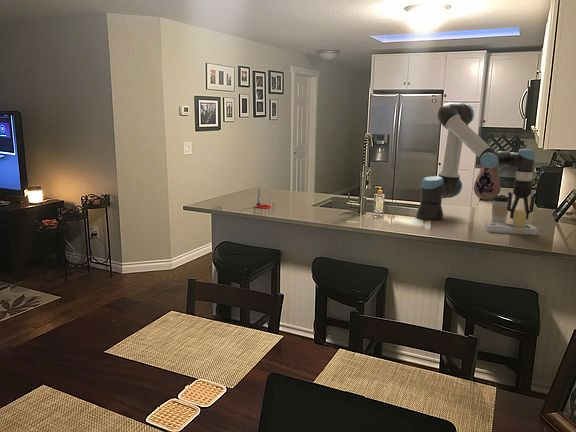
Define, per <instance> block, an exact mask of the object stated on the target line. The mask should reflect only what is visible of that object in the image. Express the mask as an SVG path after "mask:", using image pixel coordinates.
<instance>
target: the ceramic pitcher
mask: <svg viewBox="0 0 576 432" xmlns="http://www.w3.org/2000/svg"><path fill="white" fill-rule="evenodd" d="M479 165H480V169H479V171H478V174H477V176H476V179H475V180H474V184H473V192H474V194H475V196H476V197H477V198H478V199H479V200H486V201H491V200H492V199H493V198H494V197H495V196H499V195H500V192H501V181H500V176H499V172H498V168H499V167H494V168H485V167H483V166H482V165H481V162H480V163H479ZM492 201H493V200H492Z"/></svg>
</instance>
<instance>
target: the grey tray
mask: <svg viewBox="0 0 576 432" xmlns="http://www.w3.org/2000/svg"><path fill="white" fill-rule="evenodd" d="M484 228H485V230H486V231H487V233H499V234H500V233H501V234H512V235H513V234H515V235H528V234H530V236H537V235H538V228H536V227H535V226H534V225H533V224H528V223H527V224H526V223H525V226H524V227H515V226H513V225H512V224H511V223H509V222H508V223H507V222H506V223H493V222H492V221H491V222H489V221H485V222H484Z"/></svg>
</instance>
